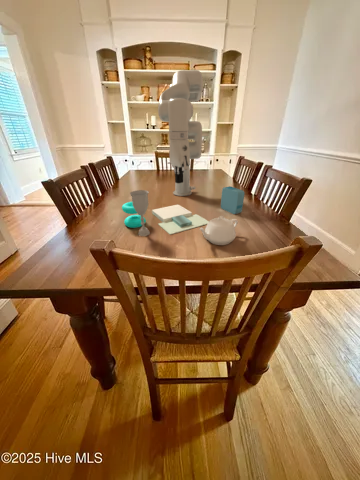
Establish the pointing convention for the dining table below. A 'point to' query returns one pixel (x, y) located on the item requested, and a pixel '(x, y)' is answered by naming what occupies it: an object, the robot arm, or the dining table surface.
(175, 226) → the mat
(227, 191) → the data package
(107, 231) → the dining table surface
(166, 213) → the block
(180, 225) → the tile
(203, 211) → the dining table surface
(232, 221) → the teapot
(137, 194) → the chalice
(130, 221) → the donuts
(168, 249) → the dining table surface
